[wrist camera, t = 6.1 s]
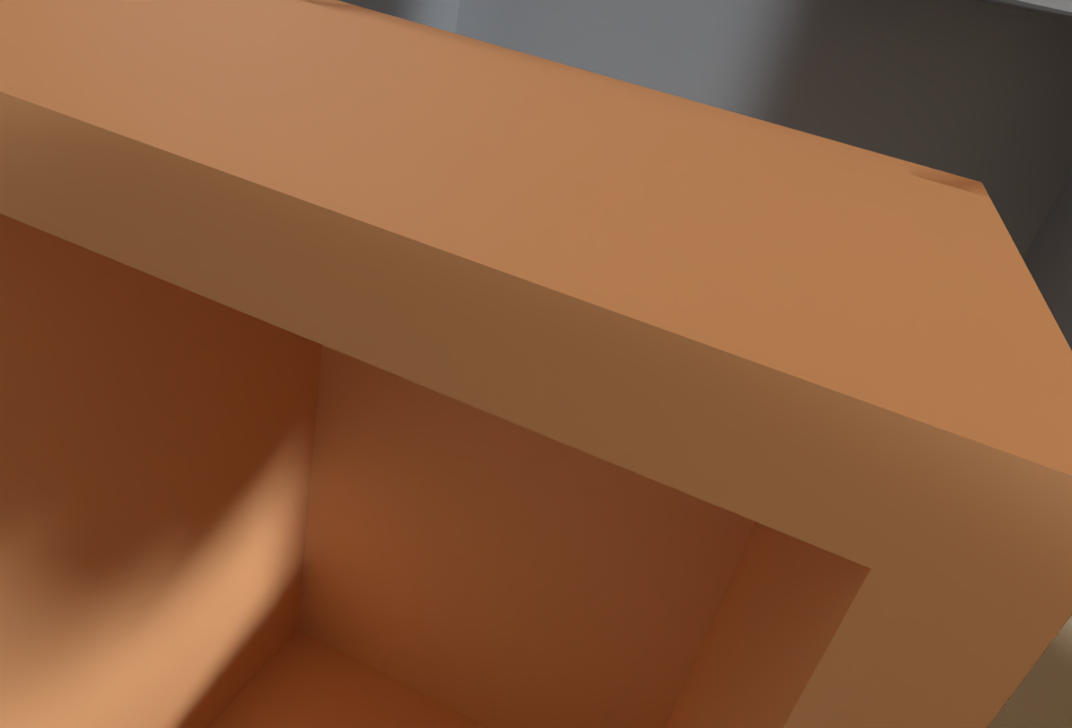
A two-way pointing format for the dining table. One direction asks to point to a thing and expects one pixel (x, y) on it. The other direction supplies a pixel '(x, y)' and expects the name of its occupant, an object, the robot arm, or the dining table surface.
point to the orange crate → (495, 395)
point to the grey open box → (843, 83)
